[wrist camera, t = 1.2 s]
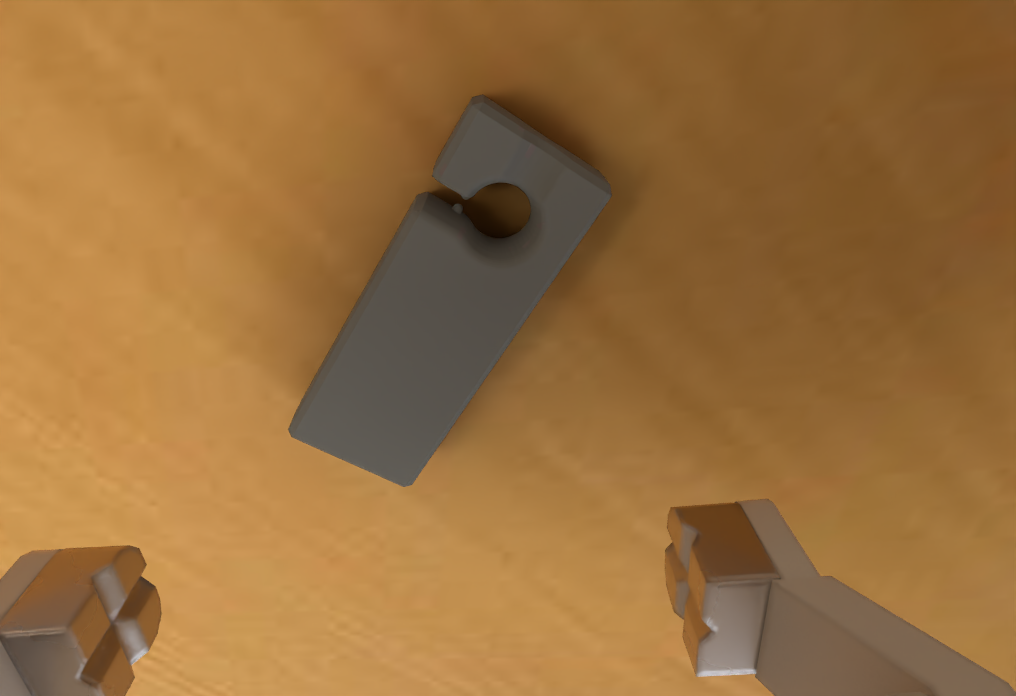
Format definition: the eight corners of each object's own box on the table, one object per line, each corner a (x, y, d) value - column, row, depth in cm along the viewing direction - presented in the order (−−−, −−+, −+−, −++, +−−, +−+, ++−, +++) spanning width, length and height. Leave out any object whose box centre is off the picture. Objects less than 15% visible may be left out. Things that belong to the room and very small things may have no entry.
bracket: (299, 401, 20) (282, 439, 18) (474, 87, 16) (474, 97, 14) (414, 453, 21) (409, 494, 19) (603, 172, 17) (619, 190, 15)
